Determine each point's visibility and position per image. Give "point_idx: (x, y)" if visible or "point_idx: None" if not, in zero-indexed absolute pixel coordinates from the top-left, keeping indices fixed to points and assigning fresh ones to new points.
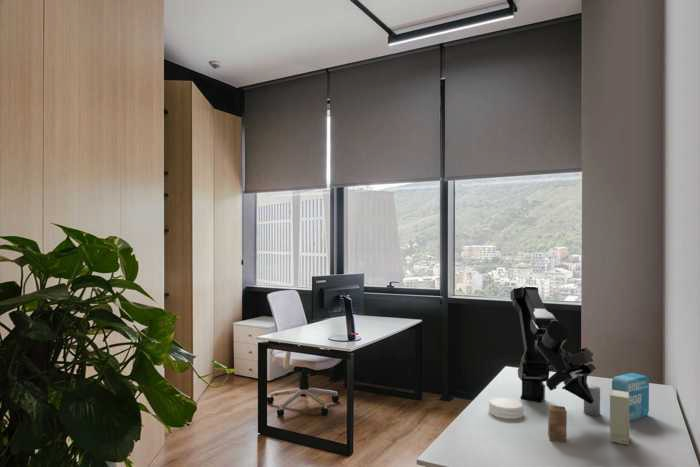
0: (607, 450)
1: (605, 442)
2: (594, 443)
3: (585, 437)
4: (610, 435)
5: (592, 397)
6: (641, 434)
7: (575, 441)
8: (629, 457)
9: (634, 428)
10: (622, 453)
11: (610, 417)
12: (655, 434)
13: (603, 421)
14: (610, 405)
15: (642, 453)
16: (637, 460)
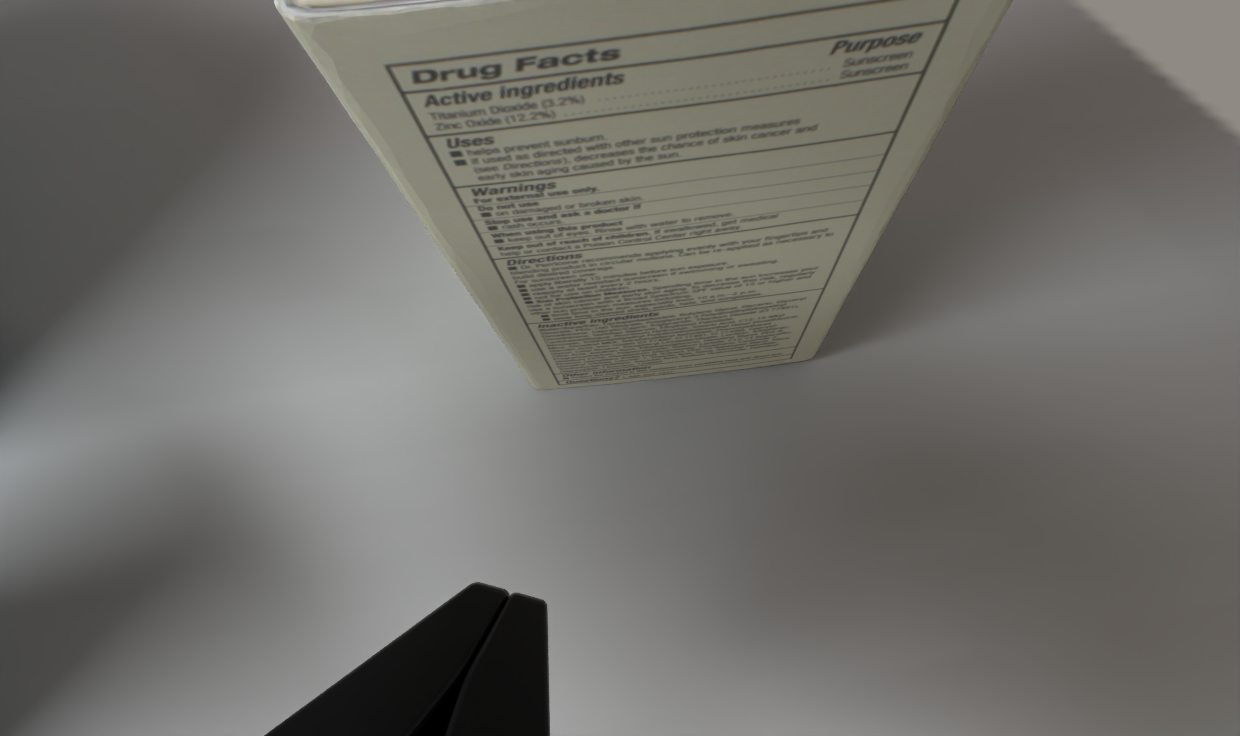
0: (1111, 343)
1: (877, 403)
2: (1015, 506)
3: (896, 644)
4: (823, 336)
5: (416, 629)
6: (334, 130)
7: (1148, 731)
8: (1114, 136)
9: (175, 211)
10: (1063, 204)
11: (881, 232)
12: (246, 25)
13: (117, 554)
14: (949, 106)
15: None
16: (1127, 69)
